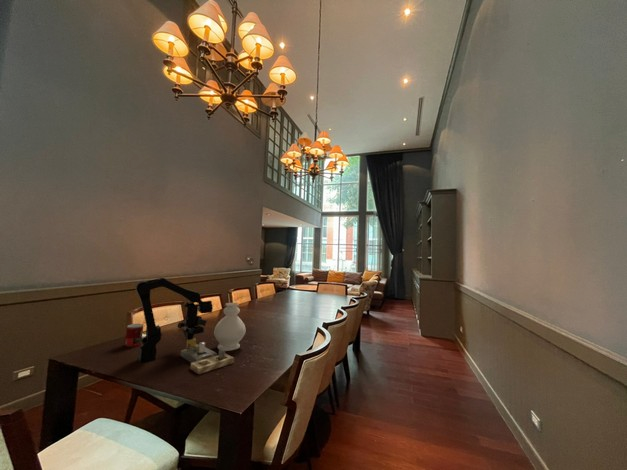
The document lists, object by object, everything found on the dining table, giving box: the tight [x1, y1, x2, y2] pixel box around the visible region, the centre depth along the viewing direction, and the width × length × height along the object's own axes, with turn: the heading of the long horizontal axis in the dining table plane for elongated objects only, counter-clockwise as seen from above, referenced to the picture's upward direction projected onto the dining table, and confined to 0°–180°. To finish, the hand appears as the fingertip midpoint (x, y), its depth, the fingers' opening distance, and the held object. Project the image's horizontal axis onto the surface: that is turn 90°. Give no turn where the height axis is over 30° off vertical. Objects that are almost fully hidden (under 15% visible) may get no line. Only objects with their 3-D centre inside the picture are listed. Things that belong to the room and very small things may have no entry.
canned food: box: [124, 323, 144, 348], centre depth 144 cm, size 8×8×11 cm
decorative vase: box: [213, 302, 246, 352], centre depth 149 cm, size 18×18×25 cm
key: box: [186, 337, 199, 351], centre depth 135 cm, size 4×8×4 cm, turn 51°
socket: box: [180, 346, 218, 364], centre depth 131 cm, size 11×16×5 cm
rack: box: [190, 349, 235, 375], centre depth 122 cm, size 18×8×6 cm, turn 142°
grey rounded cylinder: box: [198, 341, 206, 355], centre depth 129 cm, size 3×3×8 cm
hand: (189, 343), depth 138 cm, fingers closed
